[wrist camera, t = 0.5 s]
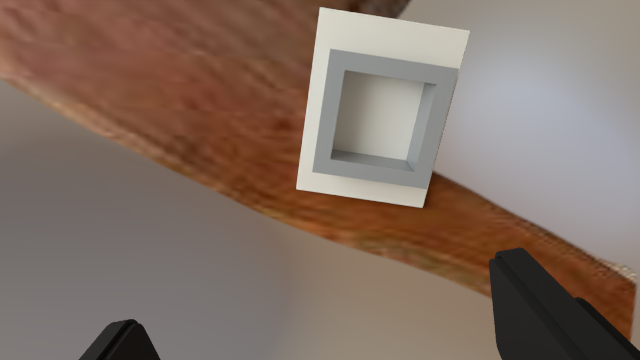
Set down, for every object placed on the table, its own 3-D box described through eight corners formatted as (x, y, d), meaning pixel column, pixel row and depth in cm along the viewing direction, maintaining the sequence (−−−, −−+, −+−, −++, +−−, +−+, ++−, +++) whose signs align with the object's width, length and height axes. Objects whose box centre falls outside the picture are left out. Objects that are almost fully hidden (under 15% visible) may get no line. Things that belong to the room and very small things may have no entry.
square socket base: (320, 8, 32) (318, -1, 27) (466, 31, 32) (489, 26, 28) (296, 185, 38) (292, 203, 33) (420, 204, 38) (432, 224, 34)
